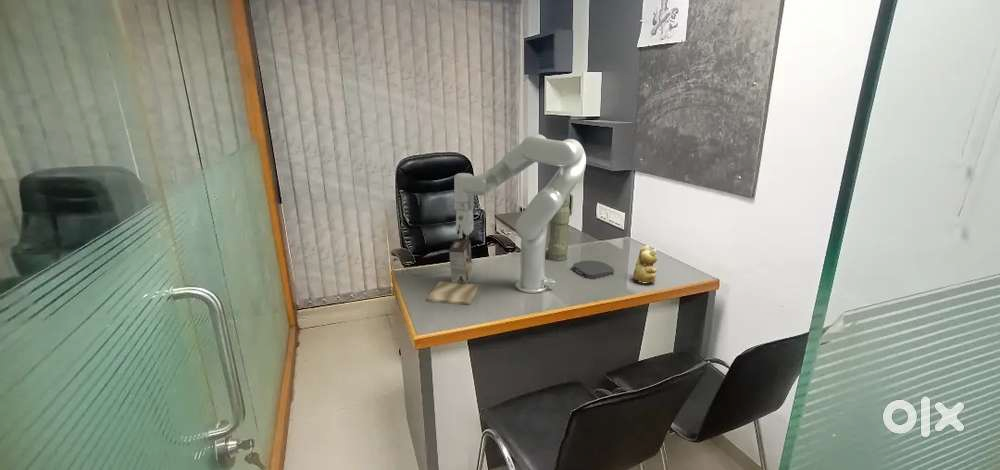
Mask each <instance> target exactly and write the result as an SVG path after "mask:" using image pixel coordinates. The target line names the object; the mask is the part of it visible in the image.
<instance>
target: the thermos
mask: <svg viewBox="0 0 1000 470" xmlns="http://www.w3.org/2000/svg"><path fill="white" fill-rule="evenodd" d="M573 204H574V195H572V193H570V194H569V196H568V197H567V198H566V200H565V201H564V203H563V204H562V206H561V208H560V209H559V210H558V212H557V213H556V214H555V215H554V217H553V218H552V219H551V220H550V222H549V224H550V226H549V227H550V228H549V242H548V243H547V245H548V246H547V247H548V248H547V253H548V254H547V259H548V258H549V261H550V260H551V261H552V260H553V262H564V260H565V261H566V260H567V258H568V257H567V256H568V250H569V249H568V247H569V245H568V230H569V229H568V227H569V223H570V218H571V216H572V215H573V207H574V205H573Z"/></svg>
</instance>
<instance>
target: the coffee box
mask: <svg viewBox="0 0 1000 470" xmlns="http://www.w3.org/2000/svg"><path fill="white" fill-rule="evenodd" d="M471 247H472V245H471V239H467V240H466V239H459V238H455V239H454V240H453V242H452V244H451V245H450V247H449V249H448V254H449V265H450V276H451V283H462V284H469V282H470V279H471V277H472V275H473V271H474V269H473V261H472V259H473V257H472V248H471Z"/></svg>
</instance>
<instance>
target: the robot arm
mask: <svg viewBox="0 0 1000 470" xmlns="http://www.w3.org/2000/svg"><path fill="white" fill-rule="evenodd" d="M534 163H537V164H544V165H549V166H550V165H551V166H556V167H559V168H558V170H557V171H556V172H555V174H554V175H553V177H552V178H551V179H550V181H549V182H548V183H547V185H546V186H545V187H543V188H542V189H541V190H540V191H539V192H537V193H536V195H535V196H534V197H533V198H532V199H531V201H530V202H529V204H528V205H527V206H526V208H524V210H523V212H522V213H521V214H520V216H519V217H518V218H517V220H516V222H515V232H516V235H517V236H518V237H519V238H520V254H519V255H520V260H519V262H520V263H519V279H518V280H517V281H516V282H515V288H516V289H517V290H518V291H521V292H523V293H529V294H537V293H542V292H545V291H546V290H548V286H553V287H554V286H556V280H554V278H547V277H546V274H545V268H546V267H545V266H546V265H545V264H546V262H545V261H546V246H547V245H546V244H547V236H548V235H547V234H548V228H549V227H548V226H549V224H550V220H551V219H552V218H553V217H554V215H555V214H556V213H557V212H558V210H559V209H560V208H561V206H562V204H563V203H564V201H565V200H566V198H567V197H568V196H569V194H572V192H573V190H574V189H575V188H576V186H577V185H578V184H579V182H580V181H581V179H582V177H583V175H584V173H585V171H586V166H587V156H586V152H585V150H584V147H583V145H582V144H581V143H580V142H579V141H578V140H577V139H573V138H567V139H564V140H556V139H549V138H546V136H544V135H542V134H539V133H536V134H532V135H530V136H527V137H526V138H524V139H523V140H522V142H521V143H519V144H518V145H517V146H515V147H514V148H512V149H511V150H510V151H508V152H506V153H505V154H504V155H503V156H502V157H501V160H500V161H499V162H497V163H496V164H495V165H493V166H492V167H491V168H489V169H488V170H487V171H484V172H483V173H480V174H478V175H473V174H471V173H469V172H467V173H466V172H460V173H459V172H458V173H457V174H455V175H454V177H453V179H454V184H453V186H454V187H453V188H454V190H453V191H454V193H453V194H454V199H453V200H454V210H455V211H456V213H455V214H456V215H455V216H456V217H455V233H456V235H457V236H458V235H459V236H458V239H466V240H470V237H469V236H470V234H471V233H472V232H473V231H474V212H473V211H474V207H475V206H474V205H475V203H474V201H475V200H474V199H475V196H474V195H476V196H485V195H487V194H488V193H490V192H491V191H493V190H495V189H496V188H498V187H499V186H501V185H502V184H503V183H505V182H507V181H508V180H509V179H511V178H512V177H515V176H517V175H518V174H520V173H521V172H523V171H524V170H526V169H527V168H529V167H530V166H532V165H533V164H534ZM569 197H570V196H569Z"/></svg>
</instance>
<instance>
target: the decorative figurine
mask: <svg viewBox="0 0 1000 470" xmlns="http://www.w3.org/2000/svg"><path fill="white" fill-rule="evenodd" d="M657 252H658V250H657V248H654V249H651V250H650V246H649V245H647V244H646V245H645V246H643V247H641V248H640V251H639V254H638V257H637V260H636V263H635V268H634V270H633V278H634V280H635V281H637V280H638V281H641V282H652V283H655V281H656V278H657V274H656V272H657V271H658V269H657V267H654V264H655V263H657V261H658V255H657ZM638 281H637V282H638Z"/></svg>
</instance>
